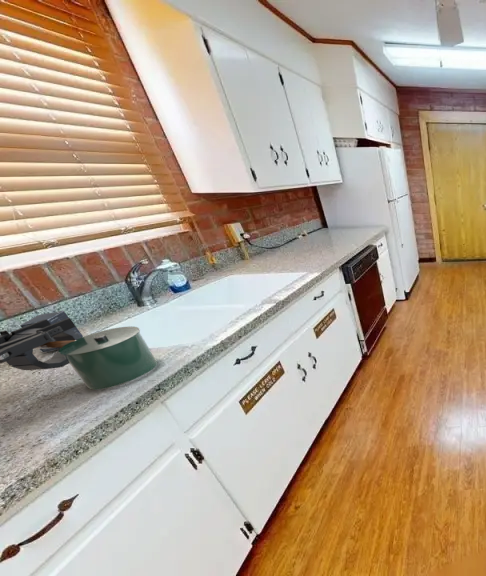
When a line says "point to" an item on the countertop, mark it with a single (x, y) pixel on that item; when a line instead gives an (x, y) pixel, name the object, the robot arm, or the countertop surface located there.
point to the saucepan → (107, 356)
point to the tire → (30, 361)
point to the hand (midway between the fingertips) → (59, 323)
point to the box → (52, 319)
